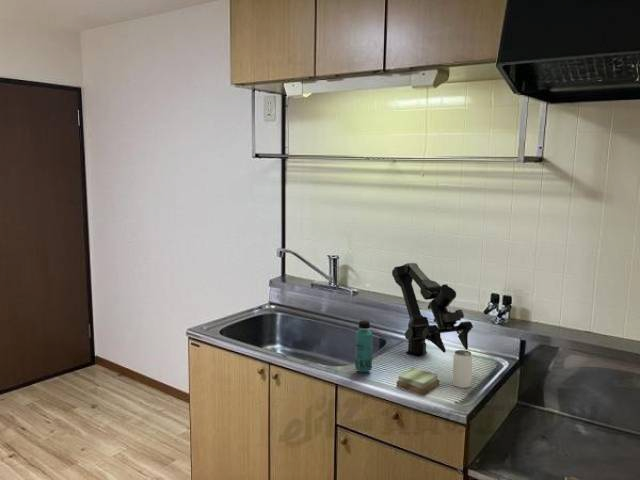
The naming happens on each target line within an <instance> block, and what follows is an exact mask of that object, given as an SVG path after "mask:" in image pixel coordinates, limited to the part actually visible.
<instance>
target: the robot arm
mask: <svg viewBox="0 0 640 480" xmlns="http://www.w3.org/2000/svg"><path fill="white" fill-rule="evenodd" d="M391 275H392V277H393V279H394V281H395V283H396V285H398V286H399V287H400V289H401V292H402V297H403V300H404V303H405V306H406V309H407V313H408V317H409V320H408V322H407V323H408V324H407V326H408V328H407V329H406V331H405V332H404V338H405V339H406V340H407V341H408V342H407V344H408V345H407V346H408V347H407V349H408V350H407V351H406V352H405V353H406V354H408V355H412V356H416V357H421V356H423V355H425V354H427V353H428V351H427V343H426V340H427V341H428V342H431V343H432V344H434V345H435V346H436V347H437V348H438V349H439V350H440V351H441V352H442V353H447V351H446V347H445V344H444V343H443V340H442V336H441V334H445V333H453V332H456V334H457V337H458V339H459V341H460V343H461V345H462V347H463V348H464V350H466V351H468V349H469V346H468V345H469V341H468V336H469V335H468V334H469V333H470V332H471V330H472V329H473V328H474V325H473V323H472V322H471V321H470V320H469V321H462V319H463V318H465V315H464V314H465V313H464V312H463V310H462V309H456V310H455V311H454V312H453V311H450V310H448V307H449V306H450V305H451V304H452V303H453V301H454V300H455V298H456V297H457V292H456V291H455V290H454V289H453V288H452V287H450V286H448V283H446V284H445V283H444V284H442V285H440V284H439V283H438V282H437V281H435V280H432V279H430V278H428V276H427V275H426V274H425V273H424V272H423V270H421V268H420V267H419V265H418V263H416V262H411V263H410V262H409V263H405V264H403V265H399V266H395V267H394V268H393V269H392V271H391ZM413 281H414V282H415V283H416V285H417V286H418V287H419V288H420V289H419V291H420V293H419V294H420V295H421V296H422V298H423V299H424V300H428V301H429V300H431V301H430V302H428V305H427V309H428V310H431V312H432V315H433V323H436V324H431V325H430V323H429V319H428V318H427V316H423V315H422V313H421V309H420V307H419V304H418V301H417V296H416V294H415V291H414V290H415V289H414V286H413ZM458 321H461V322H460V323H459V324H458V325H456V324H457V323H458Z"/></svg>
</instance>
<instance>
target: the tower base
mask: <svg viewBox="0 0 640 480" xmlns="http://www.w3.org/2000/svg"><path fill="white" fill-rule="evenodd" d="M438 375H439V374H437V373H433V372H430V371H426V370H424V369H423V370H422V369H419V368H416V367H412V368H409V370H406V371H405V372H403V373H402V374H400V375H398V380H397V381H396V388H399V389H402V388H403V390H405V389H406V390H405V391H408V390H409V392H412V393H414V394H415V393H416V394H418V395H422V396H425V395H427V394H428V393H430V392H432V391H433V390H434V389H436V388H437V387H439V386H440V379H439V377H438Z"/></svg>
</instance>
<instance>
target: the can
mask: <svg viewBox="0 0 640 480" xmlns="http://www.w3.org/2000/svg"><path fill="white" fill-rule="evenodd" d="M452 366H453V367H452V384H453V385H454V387H456V388H459V389H468V388H470V387H471V386H472V376H473V356H472V352H471V351H469V350H466V349H458V350H455V351H454V355H453V362H452Z"/></svg>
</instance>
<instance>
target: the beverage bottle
mask: <svg viewBox="0 0 640 480" xmlns="http://www.w3.org/2000/svg"><path fill="white" fill-rule="evenodd" d="M370 323H371V322H370V321H368V320H361V321H359V322H358V330H357V331H356V332H355V353H354V354H355V357H354V365H355V366H354V368H355V370H356V371H357V372H362V373H363V372H365V373H366V372H370V371H371V370H372V368H373V366H372V365H373V332H372V330H370V329H369V328H371V324H370Z"/></svg>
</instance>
